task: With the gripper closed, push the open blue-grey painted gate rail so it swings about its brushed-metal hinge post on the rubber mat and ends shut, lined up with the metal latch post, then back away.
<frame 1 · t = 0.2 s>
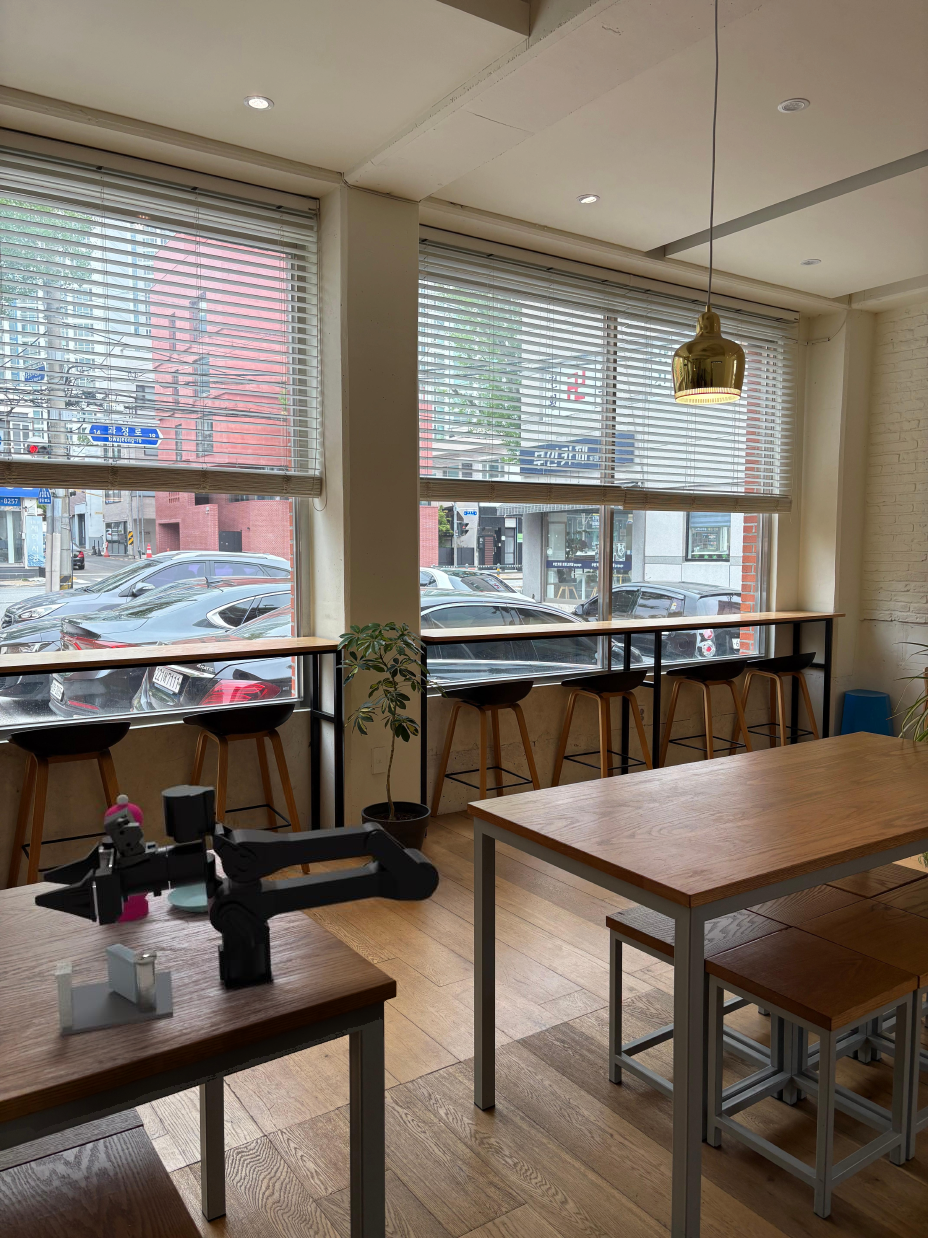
hand: (39, 888, 114), 16 cm above the table, tool horizontal, fingers open, 9 cm apart
pepper mill: (128, 915, 147), on the table
hinge post: (148, 1012, 115), resting on mat
mat: (119, 1003, 117), on the table
latch post: (67, 1027, 112), resting on mat
gate: (148, 1012, 115), resting on mat, hinge at -60.0°
saucer: (204, 906, 151), on the table
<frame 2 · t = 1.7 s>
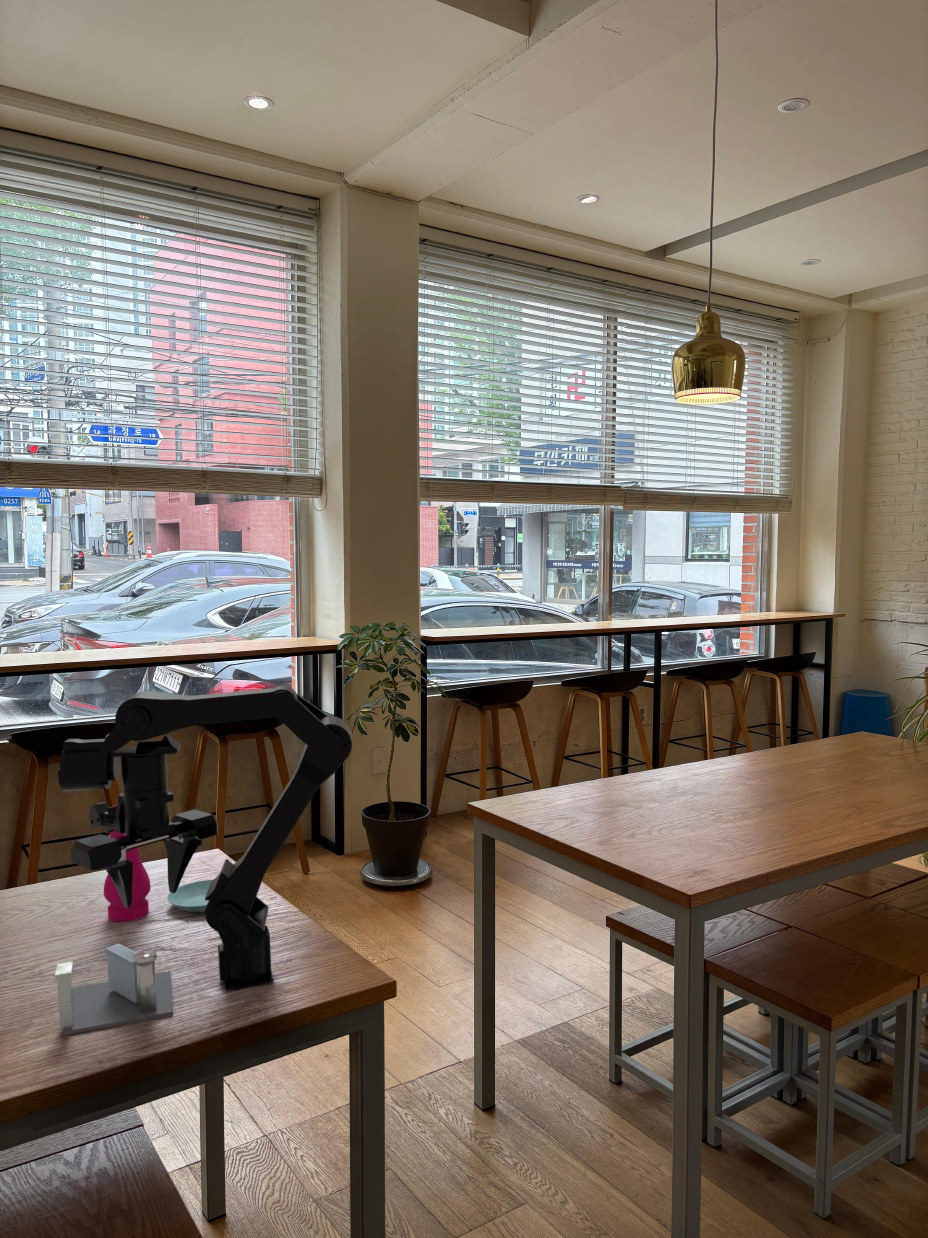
hand: (150, 900, 121), 12 cm above the table, tool pointing down, fingers open, 6 cm apart
nothing on the table moved.
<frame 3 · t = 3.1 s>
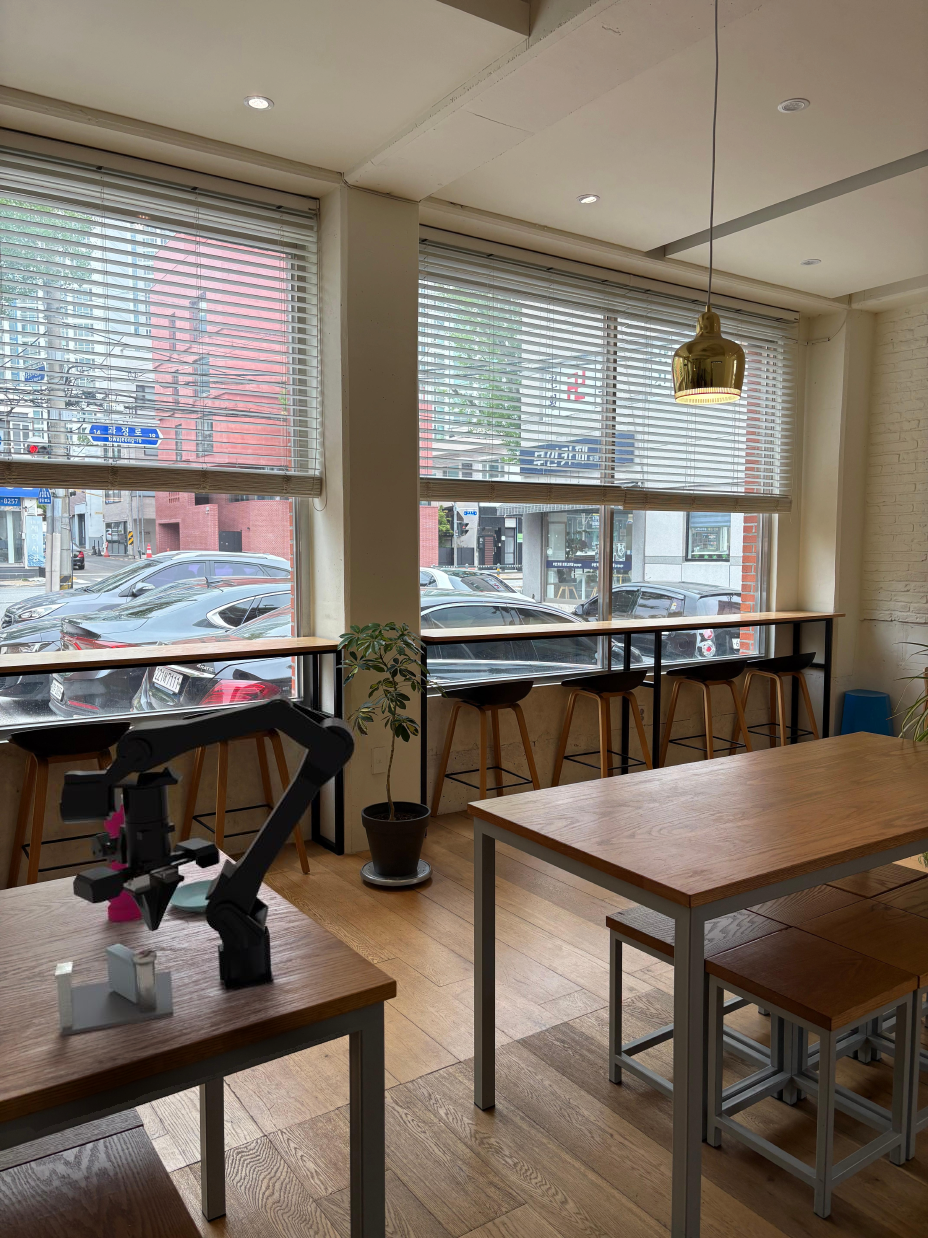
hand: (153, 930, 122), 8 cm above the table, tool pointing down, fingers closed
nothing on the table moved.
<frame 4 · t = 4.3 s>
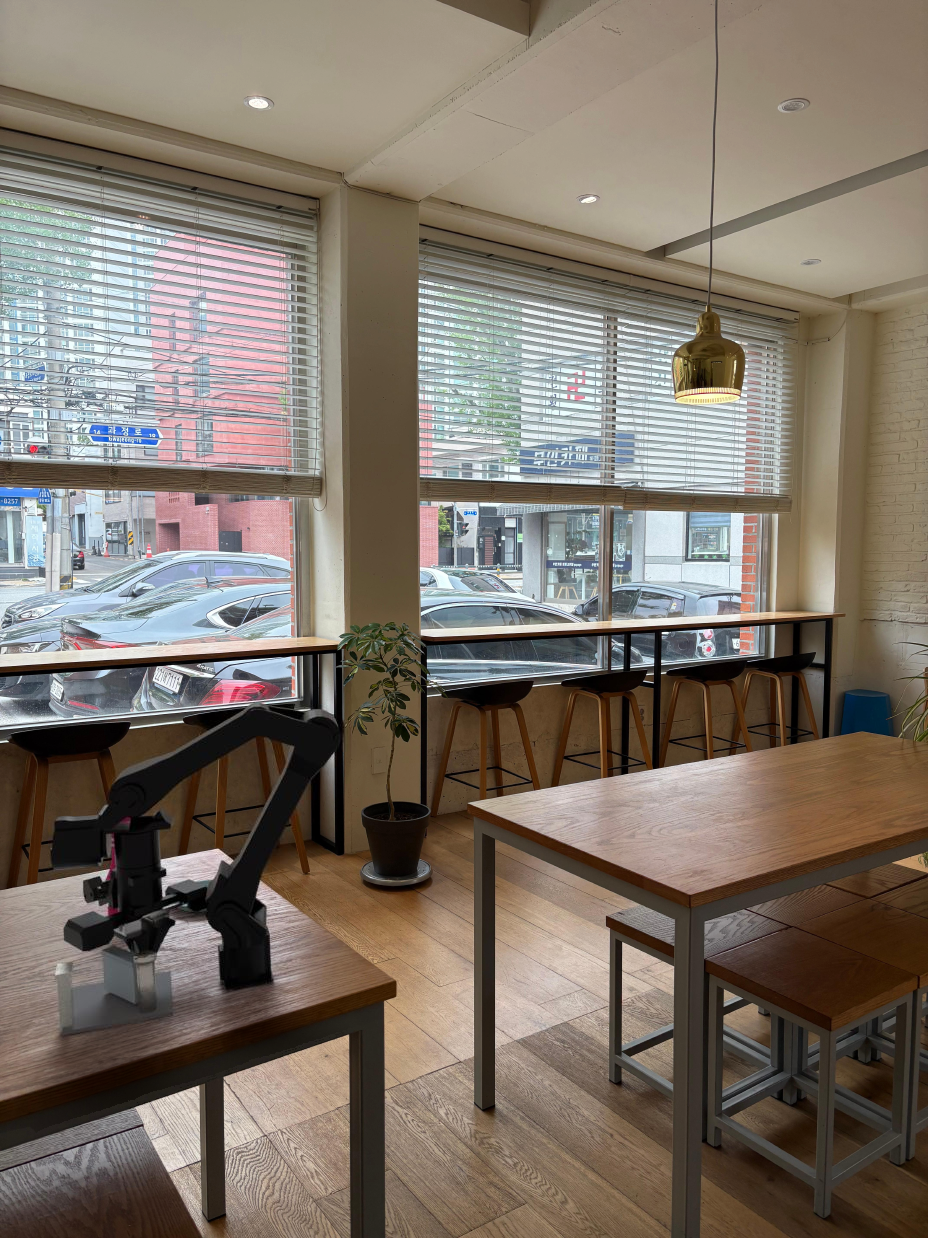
hand: (144, 974, 121), 2 cm above the table, tool pointing down, fingers closed
gate: (148, 1012, 115), resting on mat, hinge at -55.4°, touching gripper
everything else where it was.
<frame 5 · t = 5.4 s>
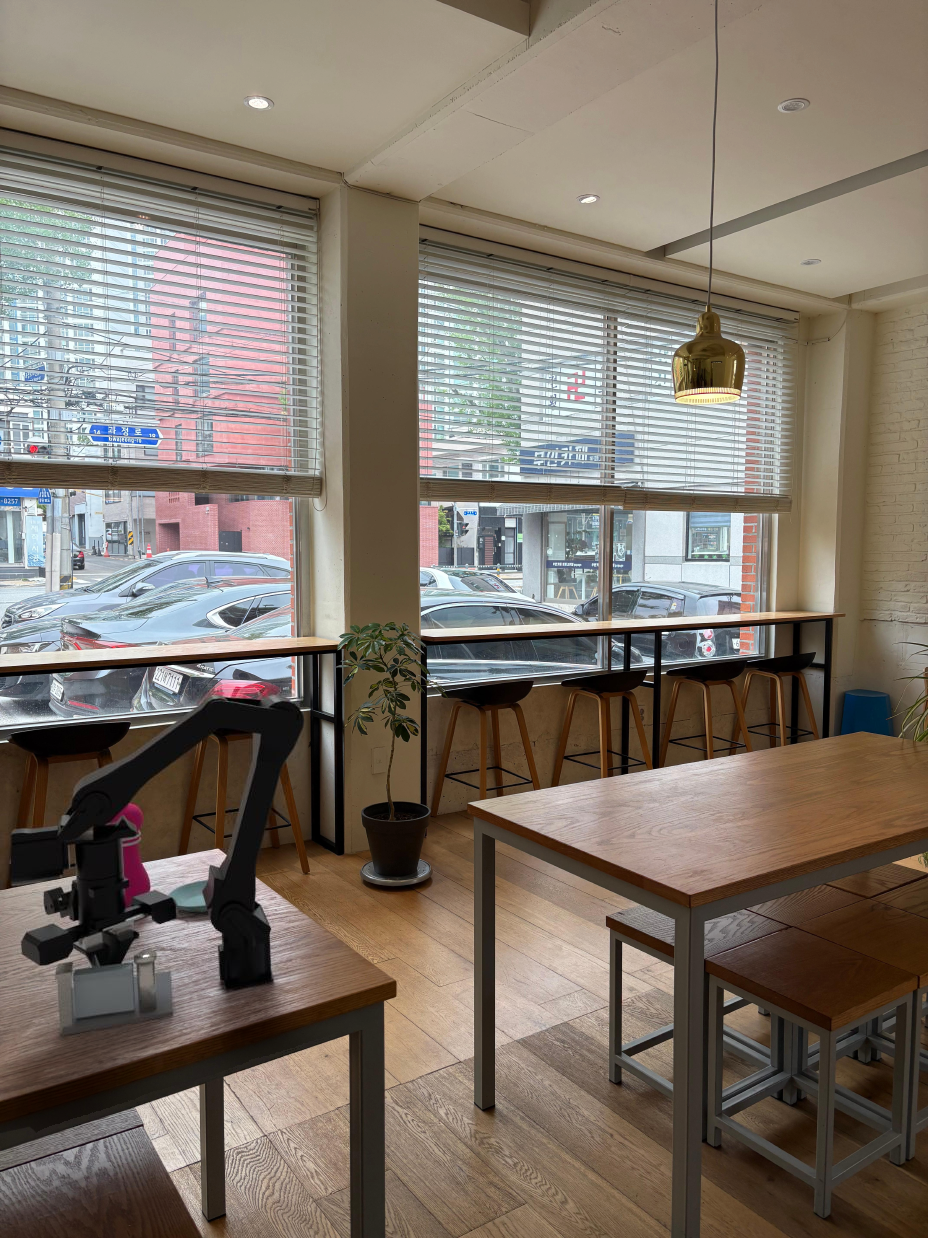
hand: (106, 988, 117), 2 cm above the table, tool pointing down, fingers closed
gate: (148, 1012, 115), resting on mat, hinge at -4.8°, touching gripper
everything else where it was.
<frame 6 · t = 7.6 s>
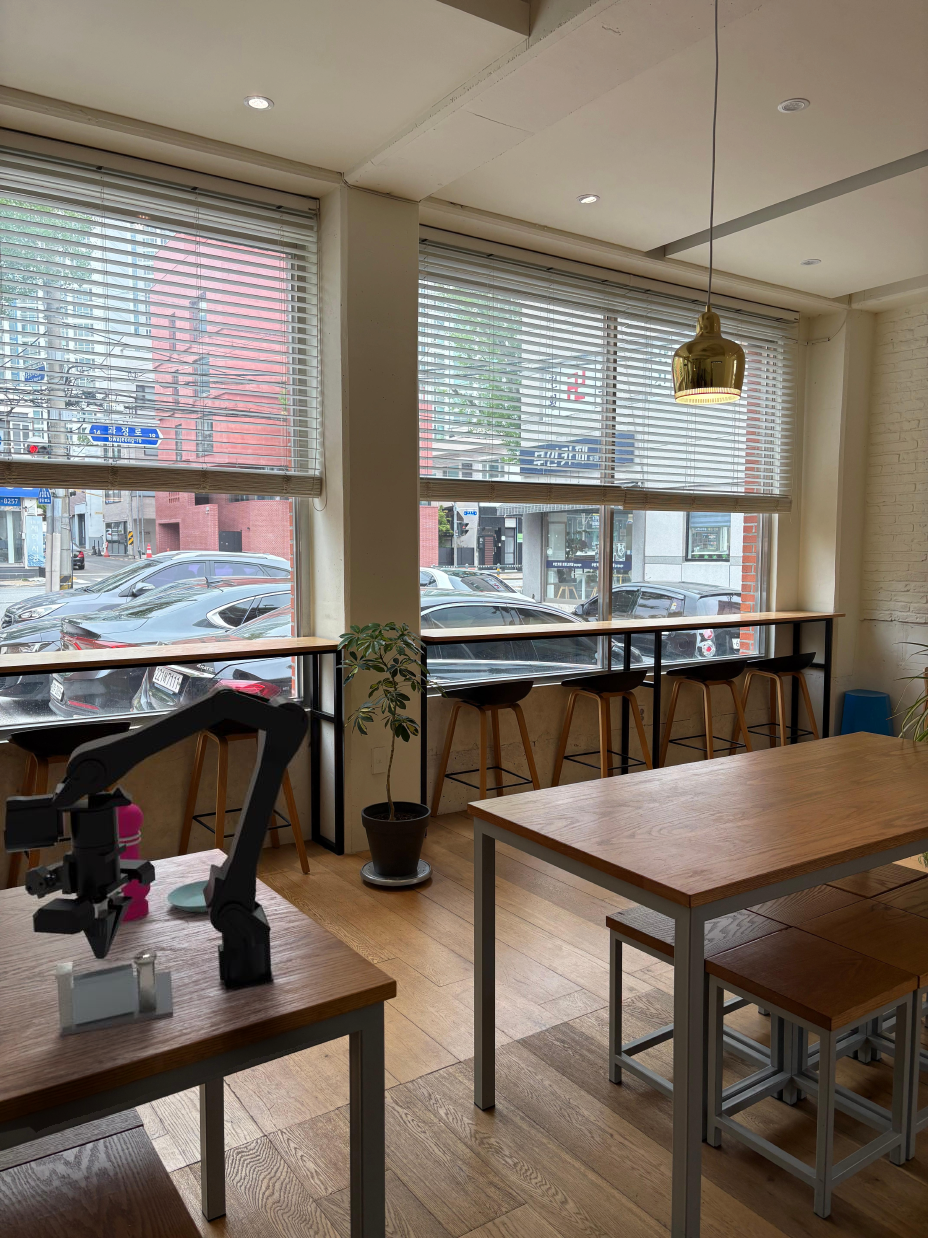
hand: (101, 958, 117), 6 cm above the table, tool pointing down, fingers closed
gate: (148, 1012, 115), resting on mat, hinge at 6.0°
everything else where it was.
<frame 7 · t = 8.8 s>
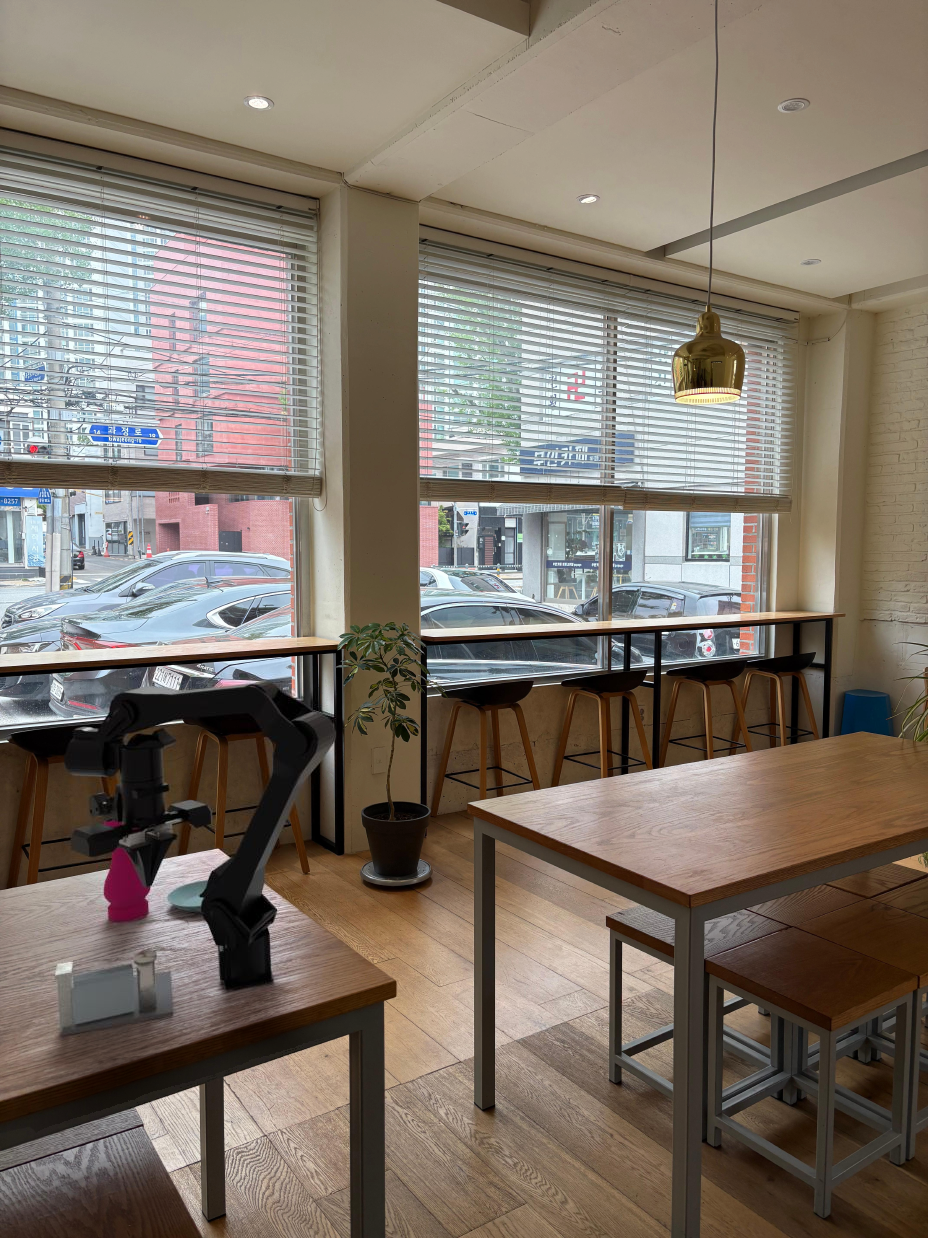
hand: (147, 886, 126), 12 cm above the table, tool pointing down, fingers closed
nothing on the table moved.
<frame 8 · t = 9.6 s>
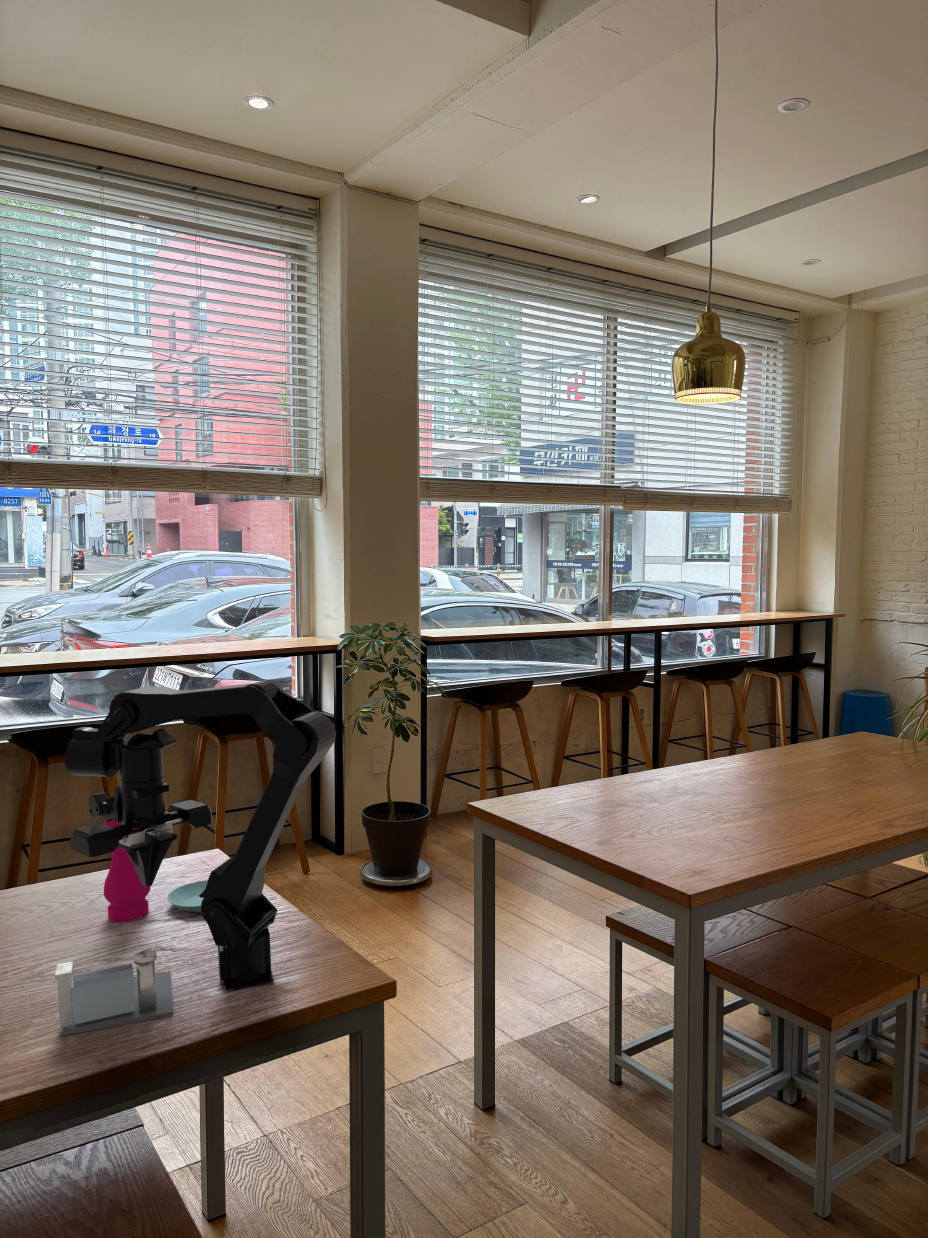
hand: (147, 886, 126), 12 cm above the table, tool pointing down, fingers closed
nothing on the table moved.
at the end: gate at +6° (first picture: -60°); gate touching nothing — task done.
